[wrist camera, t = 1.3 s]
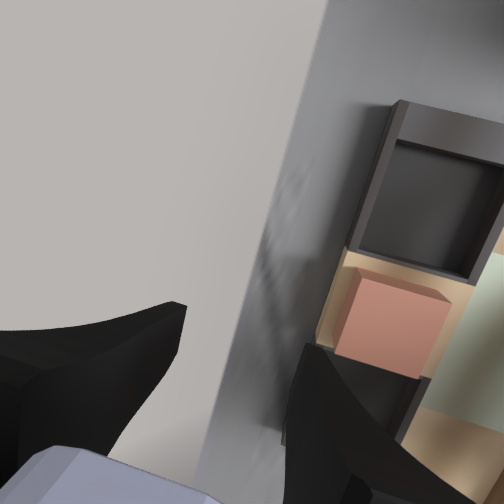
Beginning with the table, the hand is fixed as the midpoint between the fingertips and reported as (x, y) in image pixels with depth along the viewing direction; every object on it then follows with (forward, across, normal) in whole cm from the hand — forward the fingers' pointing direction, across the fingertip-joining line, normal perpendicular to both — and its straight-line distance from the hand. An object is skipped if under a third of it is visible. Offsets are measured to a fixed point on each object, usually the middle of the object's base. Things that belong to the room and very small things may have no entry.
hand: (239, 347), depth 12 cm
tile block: (+8, -7, 0) cm, 11 cm away
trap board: (+9, -11, 0) cm, 14 cm away
